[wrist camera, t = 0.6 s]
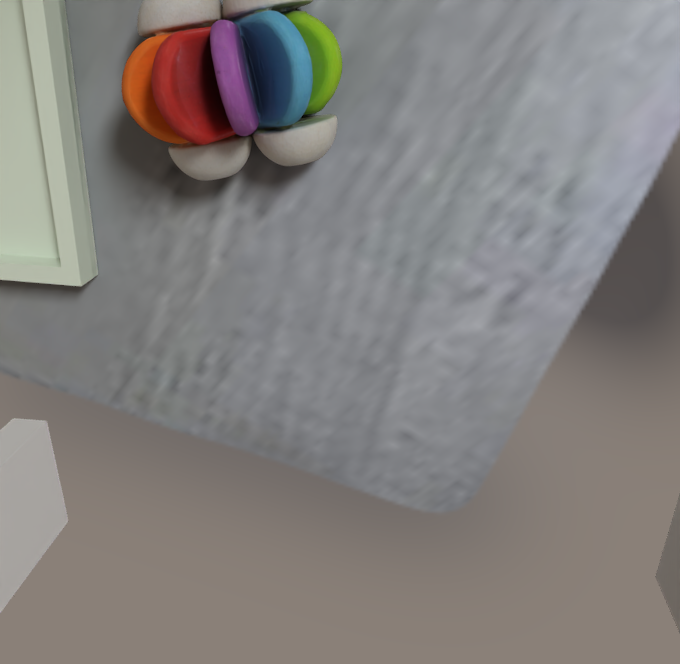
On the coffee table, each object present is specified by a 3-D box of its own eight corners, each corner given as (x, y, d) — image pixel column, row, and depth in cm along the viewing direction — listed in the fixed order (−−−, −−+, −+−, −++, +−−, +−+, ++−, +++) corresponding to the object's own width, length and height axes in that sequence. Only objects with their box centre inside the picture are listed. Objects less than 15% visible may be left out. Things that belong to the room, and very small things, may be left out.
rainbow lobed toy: (133, 0, 30) (53, -13, 24) (330, -44, 29) (303, -72, 22) (181, 177, 34) (122, 209, 27) (361, 147, 32) (345, 173, 25)
